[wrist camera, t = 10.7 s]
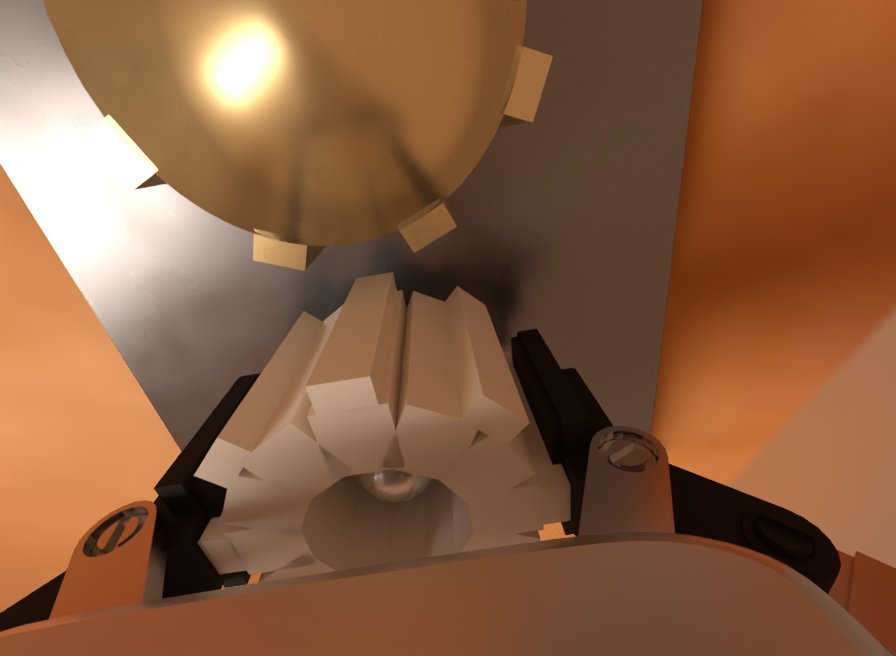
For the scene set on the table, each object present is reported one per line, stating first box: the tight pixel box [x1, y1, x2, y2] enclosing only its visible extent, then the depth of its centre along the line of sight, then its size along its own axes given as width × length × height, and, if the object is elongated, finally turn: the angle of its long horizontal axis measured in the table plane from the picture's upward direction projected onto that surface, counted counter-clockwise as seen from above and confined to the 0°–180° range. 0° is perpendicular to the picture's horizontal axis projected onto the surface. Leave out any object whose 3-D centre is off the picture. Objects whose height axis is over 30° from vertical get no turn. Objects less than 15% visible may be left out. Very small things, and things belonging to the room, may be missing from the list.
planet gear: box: [194, 272, 571, 583], centre depth 10 cm, size 7×7×5 cm
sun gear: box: [43, 0, 553, 271], centre depth 8 cm, size 9×9×3 cm
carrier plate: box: [0, 0, 703, 503], centre depth 10 cm, size 24×18×7 cm
